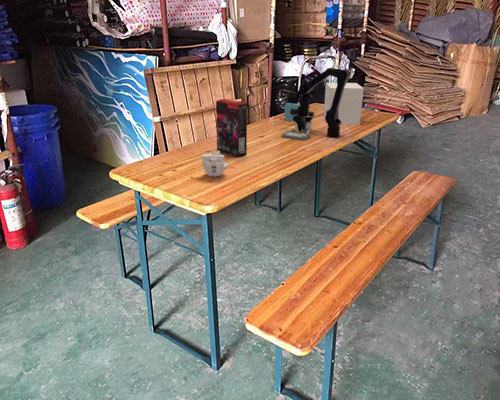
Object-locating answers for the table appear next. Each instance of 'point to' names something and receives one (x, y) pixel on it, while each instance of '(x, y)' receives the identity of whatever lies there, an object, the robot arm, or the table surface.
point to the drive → (304, 127)
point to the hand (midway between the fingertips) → (303, 129)
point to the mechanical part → (214, 163)
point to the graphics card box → (231, 127)
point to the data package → (287, 111)
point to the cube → (346, 102)
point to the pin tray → (296, 135)
